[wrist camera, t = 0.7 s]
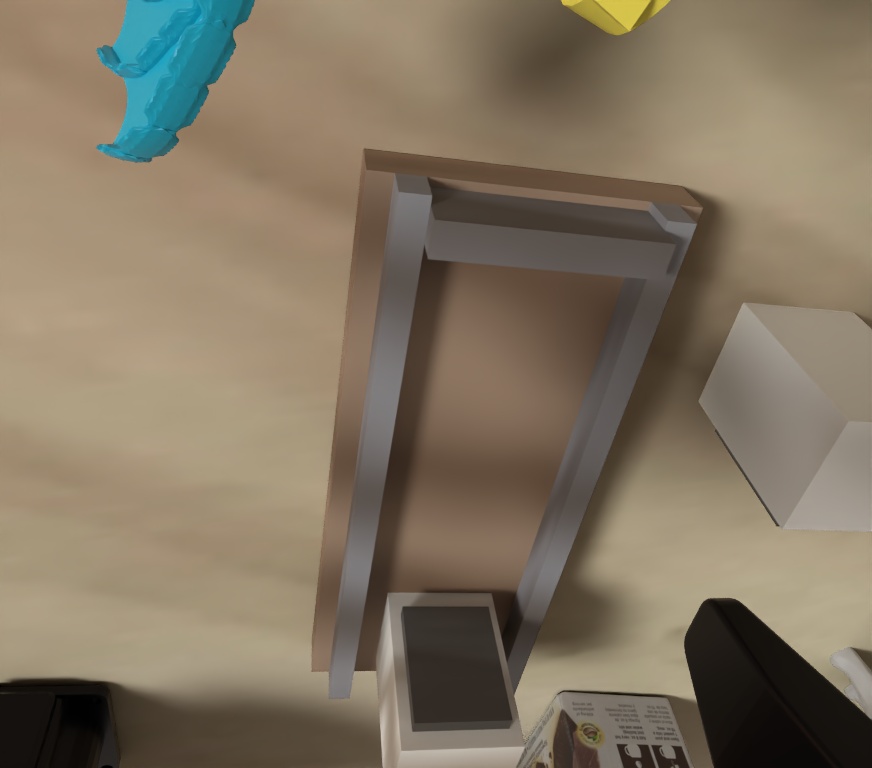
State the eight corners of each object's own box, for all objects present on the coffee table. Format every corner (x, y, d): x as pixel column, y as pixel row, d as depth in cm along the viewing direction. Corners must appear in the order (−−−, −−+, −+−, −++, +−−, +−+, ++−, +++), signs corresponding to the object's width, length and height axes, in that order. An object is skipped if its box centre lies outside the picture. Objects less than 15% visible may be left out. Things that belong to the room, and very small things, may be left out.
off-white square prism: (793, 418, 27) (893, 543, 22) (692, 412, 26) (774, 541, 22) (852, 311, 25) (980, 428, 20) (743, 302, 24) (848, 421, 19)
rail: (517, 638, 33) (559, 816, 27) (312, 639, 31) (309, 830, 25) (681, 186, 21) (823, 327, 15) (363, 148, 19) (381, 291, 13)
